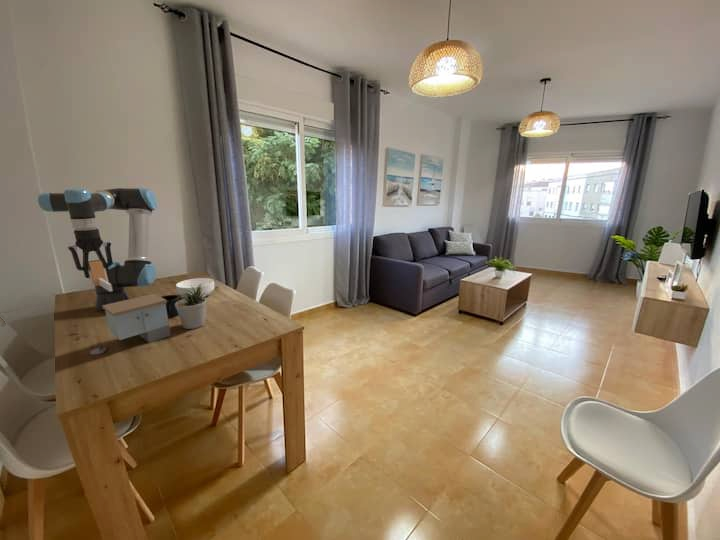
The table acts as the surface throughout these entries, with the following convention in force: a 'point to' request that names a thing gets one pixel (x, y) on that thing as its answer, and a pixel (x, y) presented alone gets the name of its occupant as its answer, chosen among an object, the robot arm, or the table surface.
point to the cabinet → (139, 318)
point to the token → (98, 351)
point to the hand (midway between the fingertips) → (99, 283)
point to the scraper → (99, 274)
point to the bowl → (204, 282)
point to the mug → (171, 305)
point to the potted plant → (192, 309)
